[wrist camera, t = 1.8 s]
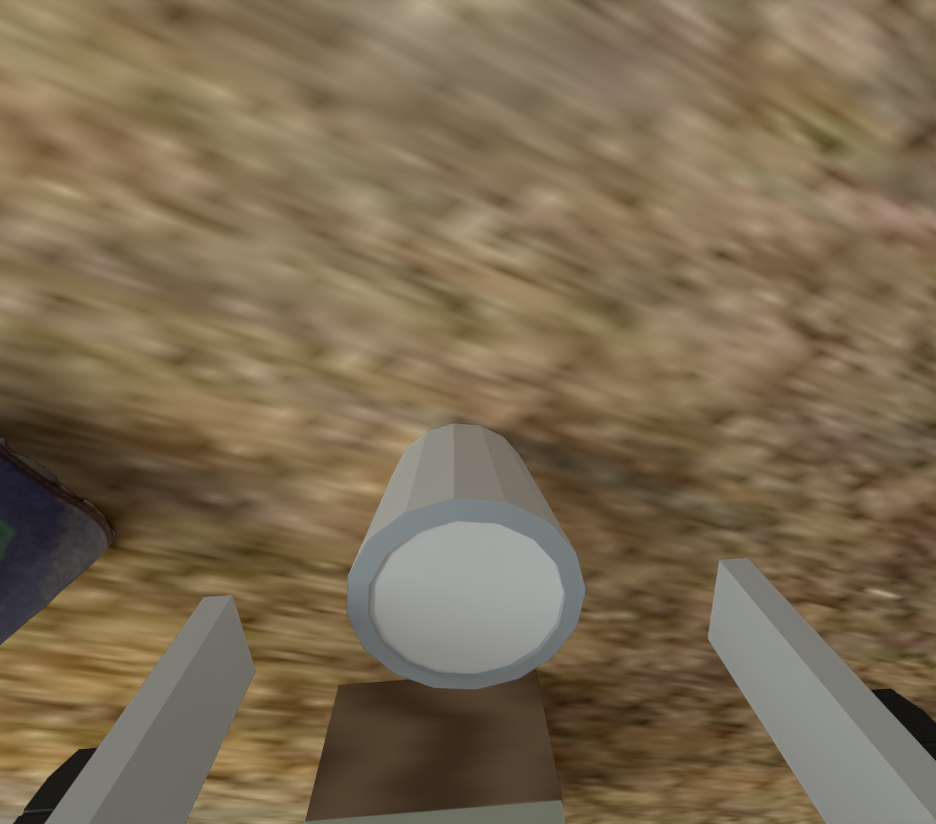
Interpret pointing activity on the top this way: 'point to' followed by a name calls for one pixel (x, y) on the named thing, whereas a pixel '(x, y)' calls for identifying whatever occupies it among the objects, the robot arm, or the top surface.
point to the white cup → (464, 566)
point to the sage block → (469, 816)
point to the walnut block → (433, 749)
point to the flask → (41, 539)
